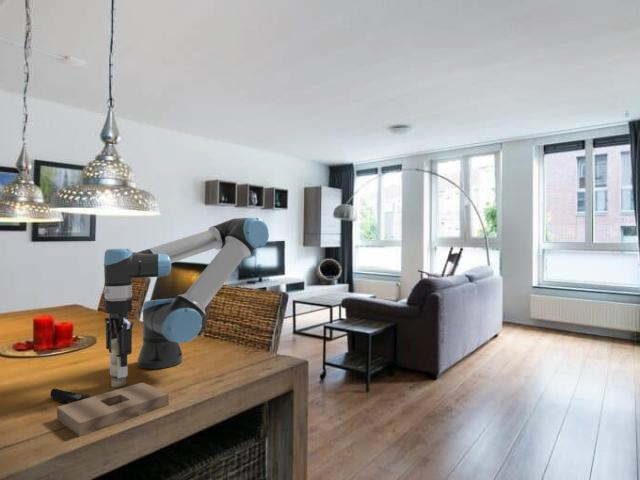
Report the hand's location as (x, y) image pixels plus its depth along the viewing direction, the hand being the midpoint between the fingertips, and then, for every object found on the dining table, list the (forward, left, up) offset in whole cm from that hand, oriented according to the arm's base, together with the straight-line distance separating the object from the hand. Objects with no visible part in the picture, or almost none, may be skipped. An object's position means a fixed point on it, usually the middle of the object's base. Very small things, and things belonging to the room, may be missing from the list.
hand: (118, 374), depth 122 cm
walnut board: (+9, +18, -3) cm, 20 cm away
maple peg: (0, 0, -3) cm, 3 cm away
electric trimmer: (+14, +2, -4) cm, 15 cm away
